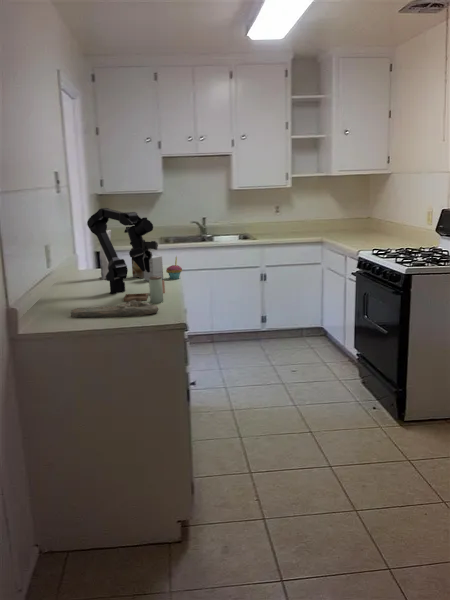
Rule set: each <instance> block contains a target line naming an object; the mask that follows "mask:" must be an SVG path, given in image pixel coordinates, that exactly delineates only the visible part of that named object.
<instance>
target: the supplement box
mask: <svg viewBox="0 0 450 600" xmlns="http://www.w3.org/2000/svg"><path fill="white" fill-rule="evenodd" d="M152 255H153V256H152V258H151V259H150V272H149V273H148V272H147V271H146V270H145V271H144V277H145V278H144V281H146V280H147V282H149V277H151V276H161V278H162V280H164V267H163V256H162V255H154V254H152Z"/></svg>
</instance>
